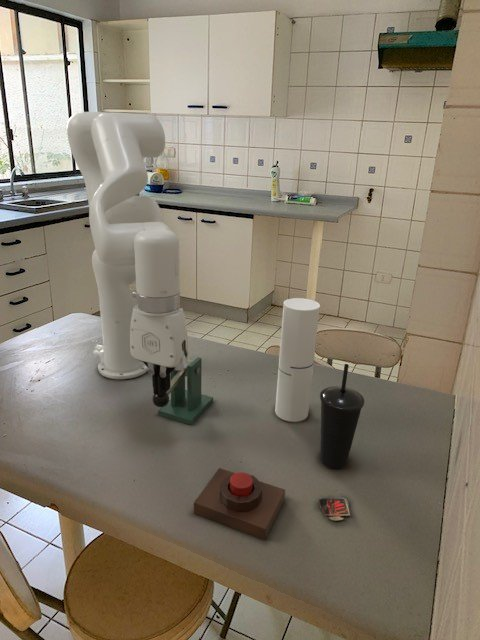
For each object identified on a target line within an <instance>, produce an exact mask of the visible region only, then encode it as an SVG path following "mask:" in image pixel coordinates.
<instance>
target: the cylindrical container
mask: <svg viewBox="0 0 480 640" xmlns="http://www.w3.org/2000/svg"><path fill="white" fill-rule="evenodd" d="M320 308H321V305H320V303H319V302H318V301H316V300H313V299H309V298H305V297H303V298H302V297H293V298H287V299H285V300H284V301H283V305H282V317H281V329H280V333H281V334H280V344H279V355H278V371H277V383H276V394H275V395H276V396H275V406H274V407H275V408H274V413H275V415H276V416H277V418H279V419H281V420H282V421H286V422H293V423H297V422H303V421H305V420H306V419H307V418H308V417H309V409H310V401H311V400H310V399H311V393H312V392H311V390H312V381H313V375H314V374H313V373H314V366H315V365H314V364H315V363H314V362H315V356H316V355H315V354H316V345H317V338H318V337H317V336H318V328H319V319H320V310H321V309H320Z"/></svg>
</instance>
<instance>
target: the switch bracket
mask: <svg viewBox="0 0 480 640" xmlns="http://www.w3.org/2000/svg"><path fill="white" fill-rule="evenodd" d="M177 373H178V371H176V370H173V371H172V372H171V373H170V381H171V380H172V379H173V377H174V376H175V375H176V374H177ZM186 387H187V388H186ZM213 403H214V396H210V395H206V394H203V393H202V358H201V357H199V356H197V357H196V358H195V359H193V361H192V362H191V363H190V364H189V365H187V377H186V376H183V377H182V379H181V380H180V381H179V383H178V384H177V385H176V386H175V388H174V389H173V390H172V391H171V393H170V398H169V402H168V404H167V405H166V406H165V407H161V408H160V407H159V409H158V410H157V416H159V417H163V418H166V419H170V420H173V421H176V422H180V423H183V424H186V425H190V426H192V425H193V424H194V423H195V422H196V421H197V420H198V419H199V418H200V416H201V415H202V414H203V413H204V412H205V411H206V410H207V409H208V408H209V407H210V406H211V405H212V404H213Z"/></svg>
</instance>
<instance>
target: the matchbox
mask: <svg viewBox="0 0 480 640" xmlns="http://www.w3.org/2000/svg"><path fill="white" fill-rule="evenodd" d="M318 505H319V508H320V510H321V512H322V513H323V515H324V516H328V518H329V519H330V520H331V521H334V522H337V521H343V520H344V519H345V518H344V516H351V515H350V509H349V501H348V499H347V498H346V497H324V498H320V499H318ZM342 516H343V517H342Z"/></svg>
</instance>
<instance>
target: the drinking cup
mask: <svg viewBox="0 0 480 640" xmlns="http://www.w3.org/2000/svg"><path fill="white" fill-rule="evenodd" d="M343 366H344V367H343V374H342V382H341V386H339V385H338V386H337V385H336V386H335V385H334V386H328V387H325V388H323V389H322V390H321V391H320V393H319V400H320V446H319V447H320V448H319V449H320V452H319V456H320V458H319V459H320V462H321V464H322V465H323V466H325V468H328V469H331V470H342V469H344V468H345V467H347V463H348V460H349V456H350V453H351V448H352V444H353V442H354V439H355V438H354V437H355V433H356V429H357V426H358V422H359V419H360V415H361V412H362V408H363V407H364V406H365V402H366V401H365V398H364V396H363V394H361V393H360V392H359V391H357V390H355V389H354V388H353V389H352V388H351V387H347V386H346V385H347V380H348V372H349V366H350V365H349V364H348V363H344V365H343Z"/></svg>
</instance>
